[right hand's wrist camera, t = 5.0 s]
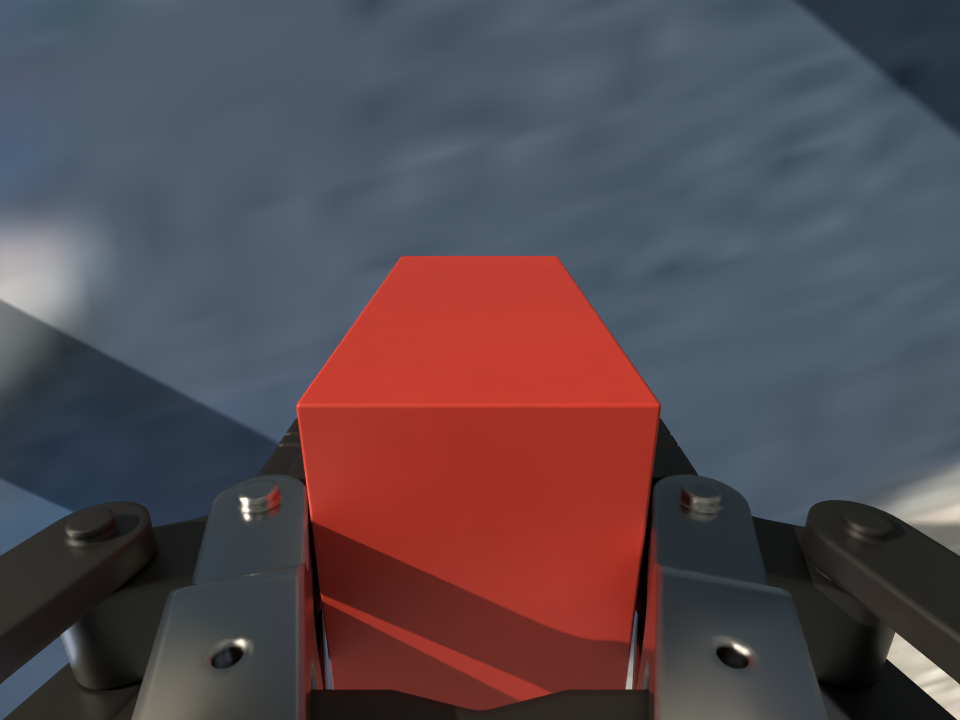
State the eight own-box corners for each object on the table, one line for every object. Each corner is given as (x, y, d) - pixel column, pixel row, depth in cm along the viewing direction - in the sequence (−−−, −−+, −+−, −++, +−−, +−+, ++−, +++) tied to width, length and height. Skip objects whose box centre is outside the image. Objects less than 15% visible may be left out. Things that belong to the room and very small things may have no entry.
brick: (410, 440, 17) (338, 743, 8) (400, 256, 15) (294, 404, 6) (548, 440, 17) (620, 743, 8) (557, 255, 15) (663, 404, 6)
